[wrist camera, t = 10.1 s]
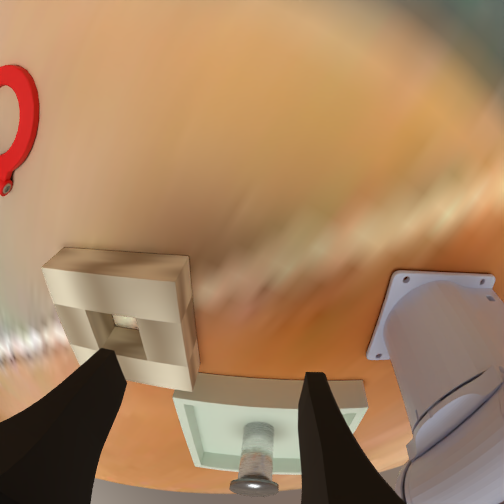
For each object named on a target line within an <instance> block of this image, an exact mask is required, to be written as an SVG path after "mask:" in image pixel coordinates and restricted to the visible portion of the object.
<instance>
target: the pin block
mask: <svg viewBox="0 0 504 504" xmlns="http://www.w3.org/2000/svg"><path fill="white" fill-rule="evenodd" d="M41 268H42V272H43V275H44V278H45V281H46V284H47V287H48V290H49V293H50V295H51V298H52V301H53V304H54V306H55V309H56V312H57V314H58V317H59V319H60V322H61V324H62V327H63V329H64V331H65V334H66V336H67V338H68V341H69V343H70V345H71V347H72V349H73V352H74V354H75V356H76V358H77V360H78V362H79V364H80V366H81V365H82V364H83V363H85V362H86V361H87V360H88V359H89V358H90V357H91V356H92V355H93V354H95V353H96V352H97V351H98V350H99V349H100V348H105V349H109V350H114V351H115V354H116V357H117V359H118V362H119V364H120V367H121V370H122V372H123V375H124V377H125V379H126V380H128V381H133V382H138V383H143V384H148V385H153V386H158V387H164V388H170V389H176V390H182V391H189V392H193V389H194V385H195V381H196V378H197V374H198V370H199V366H200V358H199V351H198V343H197V334H196V326H195V317H194V308H193V298H192V288H191V277H190V265H189V256H181V255H166V254H151V253H136V252H122V251H108V250H93V249H80V248H66V247H64V248H63V249H62V250H60V251H59V252H58V253H57V254H56V255H55V256H53V257H52V258H51V259H50V260H49V261H48V262H47V263H46V264H44V265H43V266H42V267H41ZM112 314H113V315H120V316H126V317H133V318H136V321H137V325H138V329H139V330H134V329H128V328H122V327H116V326H115V324H114V321H113V317H112Z"/></svg>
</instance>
